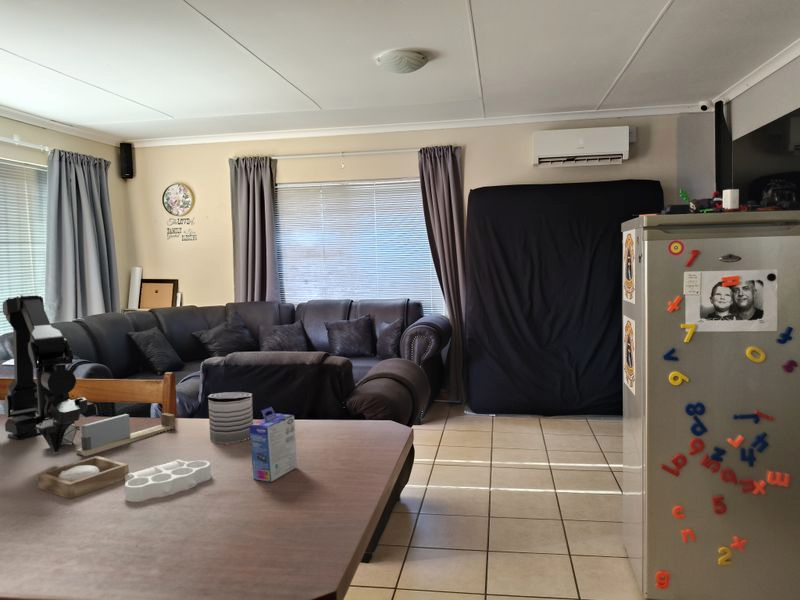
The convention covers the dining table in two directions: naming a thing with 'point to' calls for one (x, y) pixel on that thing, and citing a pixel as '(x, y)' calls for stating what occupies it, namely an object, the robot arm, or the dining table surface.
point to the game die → (69, 434)
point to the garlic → (78, 472)
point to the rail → (134, 435)
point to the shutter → (105, 431)
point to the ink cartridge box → (273, 446)
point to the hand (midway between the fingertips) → (55, 452)
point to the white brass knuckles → (165, 479)
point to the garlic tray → (108, 475)
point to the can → (230, 416)
